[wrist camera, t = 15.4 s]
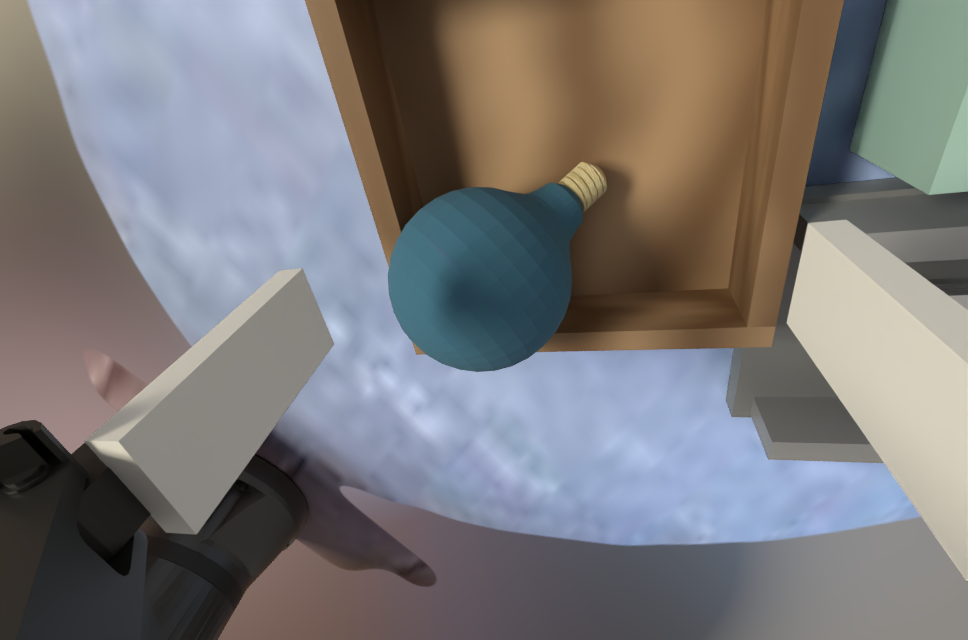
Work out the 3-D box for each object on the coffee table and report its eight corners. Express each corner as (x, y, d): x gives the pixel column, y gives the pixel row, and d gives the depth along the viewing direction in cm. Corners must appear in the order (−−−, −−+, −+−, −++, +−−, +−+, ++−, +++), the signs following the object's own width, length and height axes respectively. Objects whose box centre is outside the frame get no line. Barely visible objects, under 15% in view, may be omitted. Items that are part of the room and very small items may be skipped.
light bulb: (649, 102, 16) (391, 338, 15) (686, 261, 22) (501, 438, 21) (515, 81, 22) (325, 248, 21) (571, 209, 28) (425, 345, 27)
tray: (437, 312, 30) (416, 354, 27) (344, -33, 20) (291, -41, 17) (745, 298, 26) (771, 347, 22) (817, -154, 16) (885, -200, 12)
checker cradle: (725, 400, 30) (747, 462, 26) (758, 190, 22) (795, 232, 18) (991, 401, 26) (1064, 473, 22) (1134, 154, 19) (1282, 195, 15)
